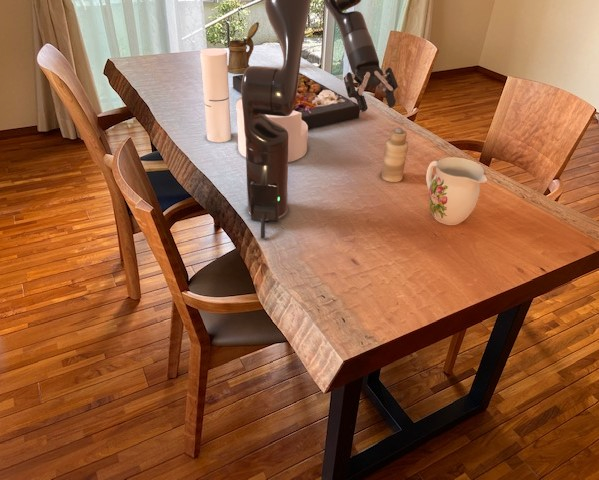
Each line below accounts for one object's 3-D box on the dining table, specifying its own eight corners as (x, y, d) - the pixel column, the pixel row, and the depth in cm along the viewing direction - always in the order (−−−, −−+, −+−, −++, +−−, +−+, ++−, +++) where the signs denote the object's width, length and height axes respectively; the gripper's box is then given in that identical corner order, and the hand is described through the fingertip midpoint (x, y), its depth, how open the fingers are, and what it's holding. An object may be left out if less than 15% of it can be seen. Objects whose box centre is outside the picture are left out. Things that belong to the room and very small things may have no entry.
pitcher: (440, 193, 127) (452, 143, 119) (489, 230, 113) (505, 177, 105) (404, 201, 123) (413, 150, 115) (450, 240, 110) (464, 186, 102)
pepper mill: (402, 182, 130) (411, 133, 122) (381, 181, 131) (388, 131, 122) (401, 172, 135) (410, 124, 126) (380, 171, 135) (388, 122, 127)
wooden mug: (263, 71, 202) (262, 24, 191) (230, 74, 197) (228, 26, 187) (256, 65, 208) (255, 19, 198) (224, 67, 204) (222, 21, 193)
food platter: (359, 118, 165) (362, 87, 159) (296, 132, 154) (297, 100, 148) (289, 78, 196) (290, 51, 189) (233, 88, 185) (231, 59, 179)
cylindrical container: (226, 143, 146) (221, 56, 131) (203, 140, 147) (196, 54, 132) (234, 134, 152) (230, 49, 137) (211, 131, 153) (205, 47, 138)
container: (320, 146, 146) (323, 102, 138) (277, 170, 133) (277, 123, 125) (269, 128, 156) (268, 86, 148) (223, 149, 143) (221, 104, 135)
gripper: (343, 46, 126) (362, 105, 124) (390, 41, 131) (408, 98, 130) (331, 62, 133) (349, 118, 131) (376, 56, 138) (394, 111, 137)
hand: (378, 108), depth 131 cm, fingers open, 8 cm apart
